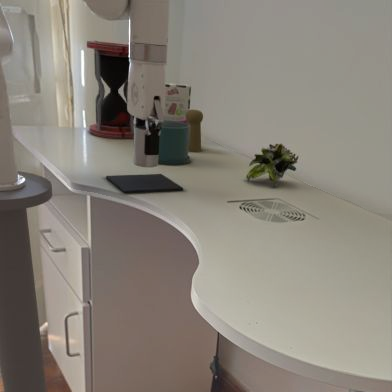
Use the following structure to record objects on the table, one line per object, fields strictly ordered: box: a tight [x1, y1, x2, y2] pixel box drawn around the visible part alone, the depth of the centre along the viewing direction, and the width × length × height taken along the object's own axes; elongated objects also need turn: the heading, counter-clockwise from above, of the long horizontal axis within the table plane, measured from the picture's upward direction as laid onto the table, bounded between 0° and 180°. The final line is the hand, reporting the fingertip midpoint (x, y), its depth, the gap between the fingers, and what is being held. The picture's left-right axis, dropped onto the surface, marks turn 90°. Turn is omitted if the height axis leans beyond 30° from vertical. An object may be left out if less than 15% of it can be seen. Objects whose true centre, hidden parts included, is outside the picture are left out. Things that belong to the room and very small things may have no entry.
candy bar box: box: [151, 82, 192, 124], centre depth 147 cm, size 11×5×16 cm, turn 104°
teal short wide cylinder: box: [150, 120, 191, 166], centre depth 128 cm, size 14×14×9 cm
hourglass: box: [86, 40, 134, 139], centre depth 147 cm, size 16×16×25 cm
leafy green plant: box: [245, 143, 299, 188], centre depth 116 cm, size 11×11×12 cm
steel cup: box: [133, 126, 159, 168], centre depth 103 cm, size 5×5×8 cm
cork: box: [186, 109, 204, 153], centre depth 141 cm, size 6×6×11 cm
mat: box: [105, 173, 184, 194], centre depth 107 cm, size 14×12×1 cm
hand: (145, 150), depth 103 cm, fingers closed on steel cup, 5 cm apart
